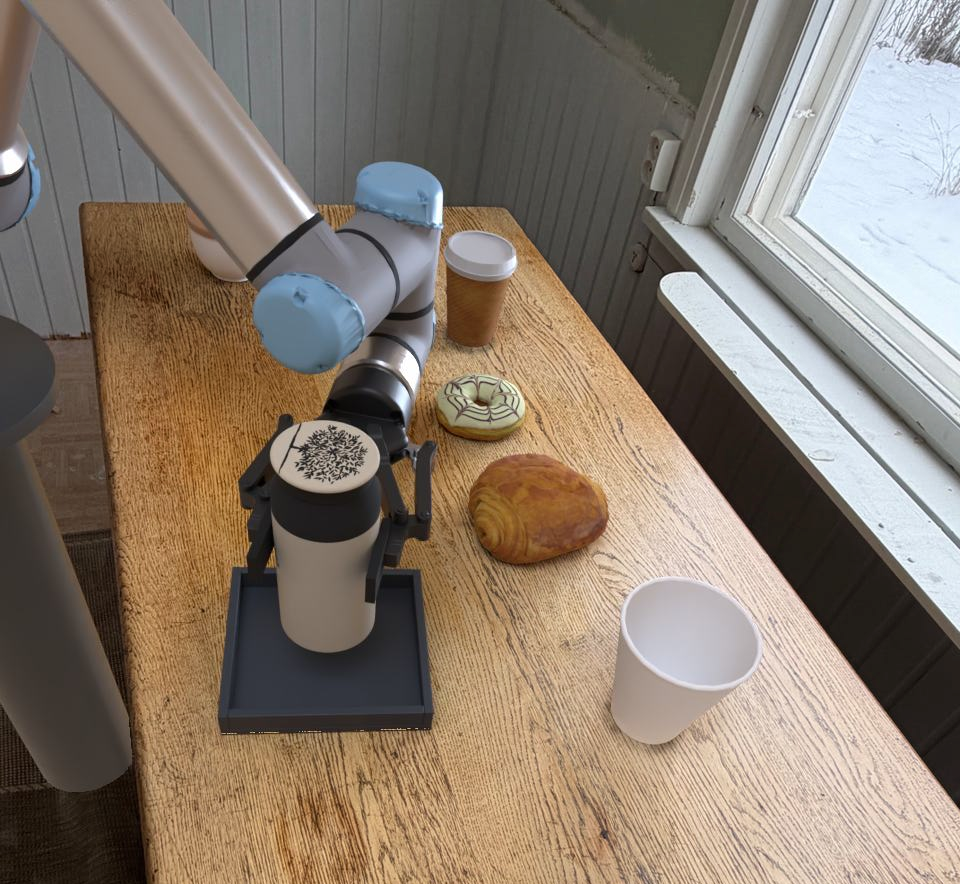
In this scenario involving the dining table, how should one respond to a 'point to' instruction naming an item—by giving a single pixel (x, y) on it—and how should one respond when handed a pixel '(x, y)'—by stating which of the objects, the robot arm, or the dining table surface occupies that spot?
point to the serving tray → (325, 666)
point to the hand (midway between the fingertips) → (311, 580)
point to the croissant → (535, 508)
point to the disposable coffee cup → (476, 284)
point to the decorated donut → (480, 407)
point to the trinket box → (212, 251)
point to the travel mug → (324, 532)
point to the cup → (678, 656)
